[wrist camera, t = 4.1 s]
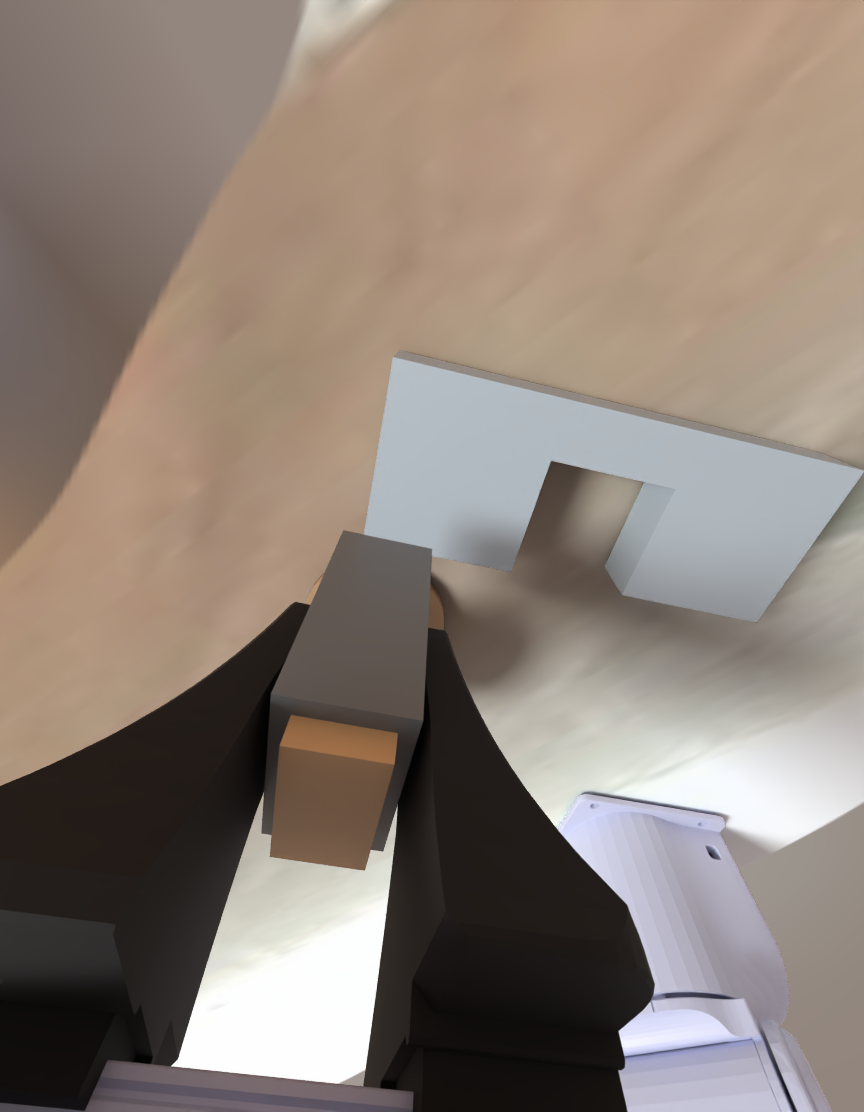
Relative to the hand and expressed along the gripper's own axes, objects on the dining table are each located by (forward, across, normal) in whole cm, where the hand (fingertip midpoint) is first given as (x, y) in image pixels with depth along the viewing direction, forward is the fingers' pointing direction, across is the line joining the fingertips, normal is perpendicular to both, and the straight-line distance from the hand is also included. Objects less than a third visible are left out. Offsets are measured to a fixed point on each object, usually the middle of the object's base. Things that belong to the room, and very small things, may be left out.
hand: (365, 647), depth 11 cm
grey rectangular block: (+2, 0, 0) cm, 2 cm away
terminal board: (+8, -7, -2) cm, 11 cm away
